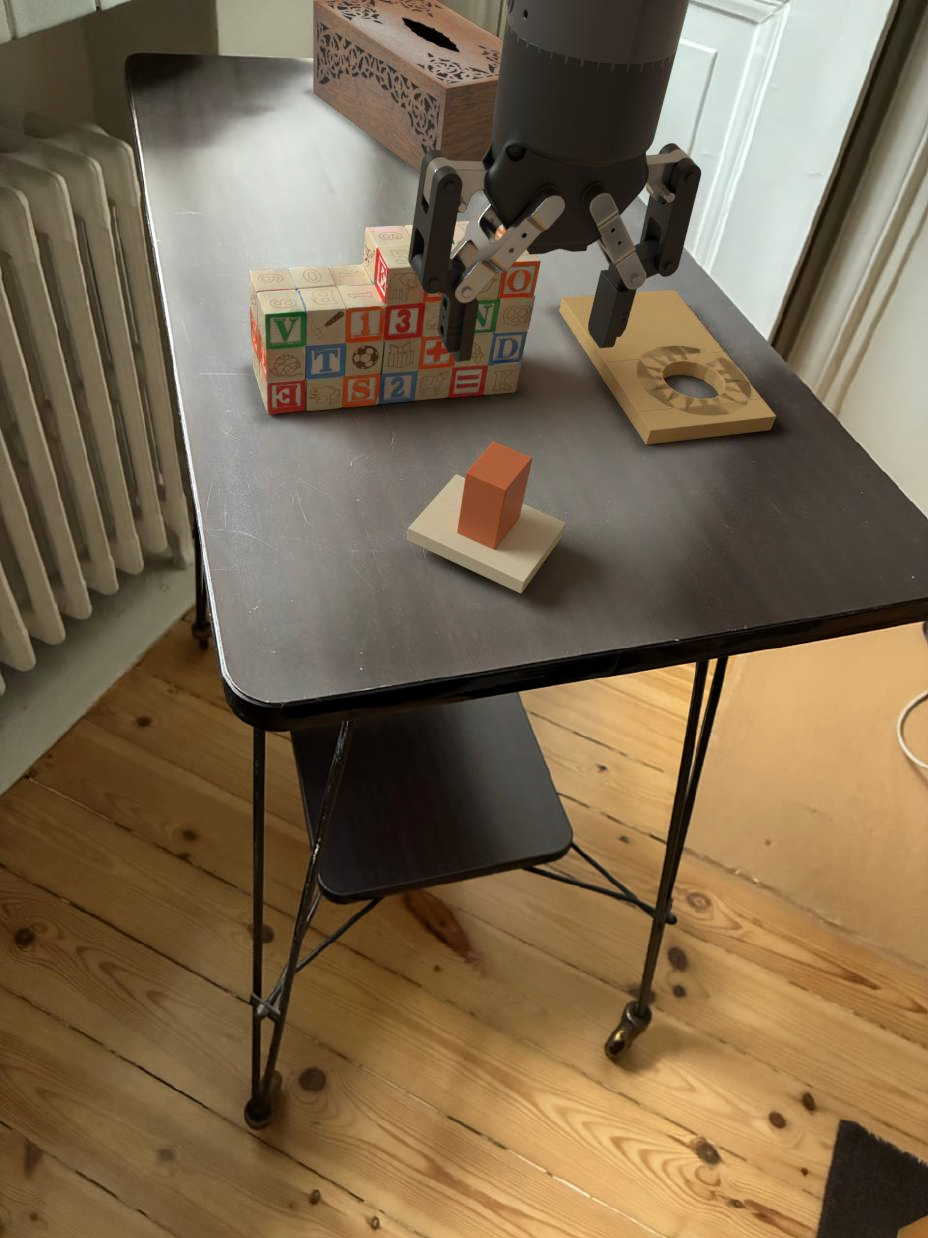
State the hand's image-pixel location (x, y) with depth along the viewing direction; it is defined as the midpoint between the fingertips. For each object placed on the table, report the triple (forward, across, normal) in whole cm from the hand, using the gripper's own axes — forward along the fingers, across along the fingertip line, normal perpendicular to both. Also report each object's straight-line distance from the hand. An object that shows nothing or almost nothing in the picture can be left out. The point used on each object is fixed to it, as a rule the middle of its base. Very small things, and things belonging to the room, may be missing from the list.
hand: (530, 346), depth 54 cm
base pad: (+19, +25, +22) cm, 38 cm away
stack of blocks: (+19, 0, +24) cm, 31 cm away
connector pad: (+19, +1, +3) cm, 19 cm away
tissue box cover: (+19, +18, +72) cm, 76 cm away
